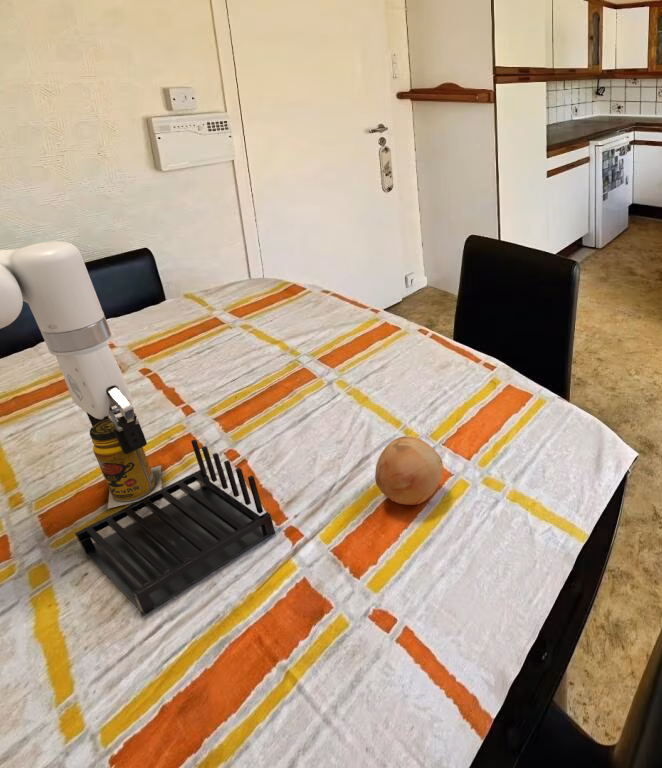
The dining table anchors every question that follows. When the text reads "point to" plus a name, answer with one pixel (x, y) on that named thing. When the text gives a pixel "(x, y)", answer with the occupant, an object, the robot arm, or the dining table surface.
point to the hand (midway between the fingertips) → (120, 438)
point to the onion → (408, 471)
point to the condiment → (123, 467)
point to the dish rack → (178, 535)
